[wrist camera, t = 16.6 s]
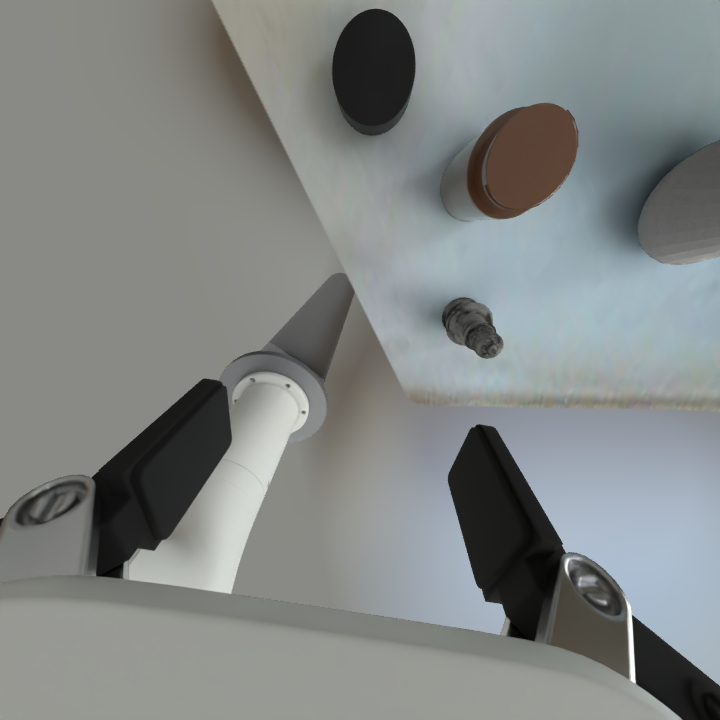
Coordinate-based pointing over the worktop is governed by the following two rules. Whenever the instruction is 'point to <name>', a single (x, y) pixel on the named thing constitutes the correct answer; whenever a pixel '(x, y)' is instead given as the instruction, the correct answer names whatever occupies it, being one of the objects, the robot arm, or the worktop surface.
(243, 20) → the worktop surface
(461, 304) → the grey stepped cylinder
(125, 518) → the robot arm
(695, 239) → the coffee pot
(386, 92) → the jar lid
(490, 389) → the worktop surface
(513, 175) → the jar
